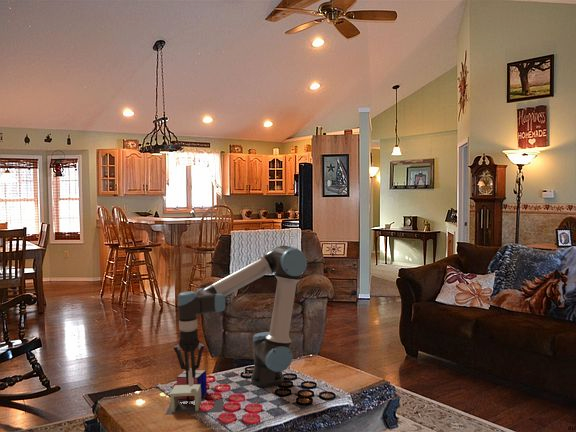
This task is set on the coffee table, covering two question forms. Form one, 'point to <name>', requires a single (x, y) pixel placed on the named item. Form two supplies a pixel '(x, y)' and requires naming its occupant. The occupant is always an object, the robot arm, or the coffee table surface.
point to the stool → (186, 391)
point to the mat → (191, 408)
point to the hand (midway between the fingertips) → (191, 384)
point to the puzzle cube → (198, 379)
